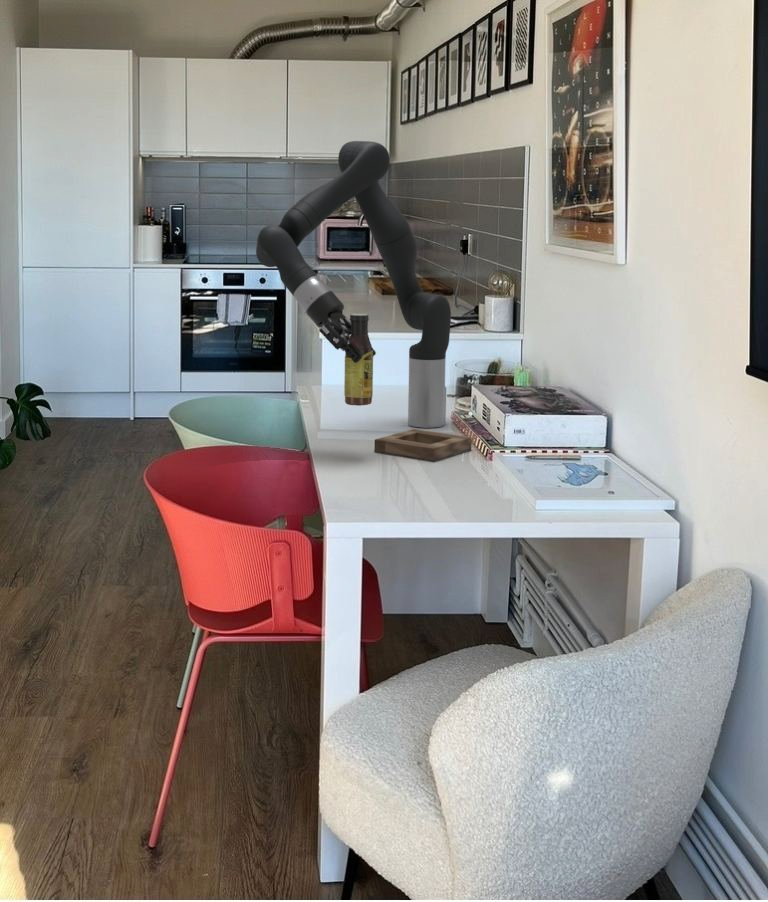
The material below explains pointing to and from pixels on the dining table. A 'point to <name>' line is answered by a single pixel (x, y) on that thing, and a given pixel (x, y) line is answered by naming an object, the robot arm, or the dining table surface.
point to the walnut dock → (423, 445)
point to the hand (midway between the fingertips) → (366, 358)
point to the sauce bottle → (359, 364)
